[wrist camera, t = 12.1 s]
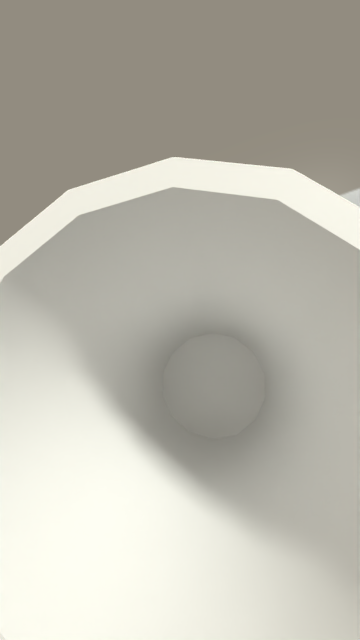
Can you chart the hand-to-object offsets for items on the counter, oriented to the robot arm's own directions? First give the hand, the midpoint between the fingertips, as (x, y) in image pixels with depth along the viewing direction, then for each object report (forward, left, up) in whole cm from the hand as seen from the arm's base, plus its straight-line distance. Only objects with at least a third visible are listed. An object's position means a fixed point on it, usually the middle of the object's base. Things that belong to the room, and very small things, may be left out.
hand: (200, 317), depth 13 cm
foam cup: (+2, +2, -5) cm, 6 cm away
